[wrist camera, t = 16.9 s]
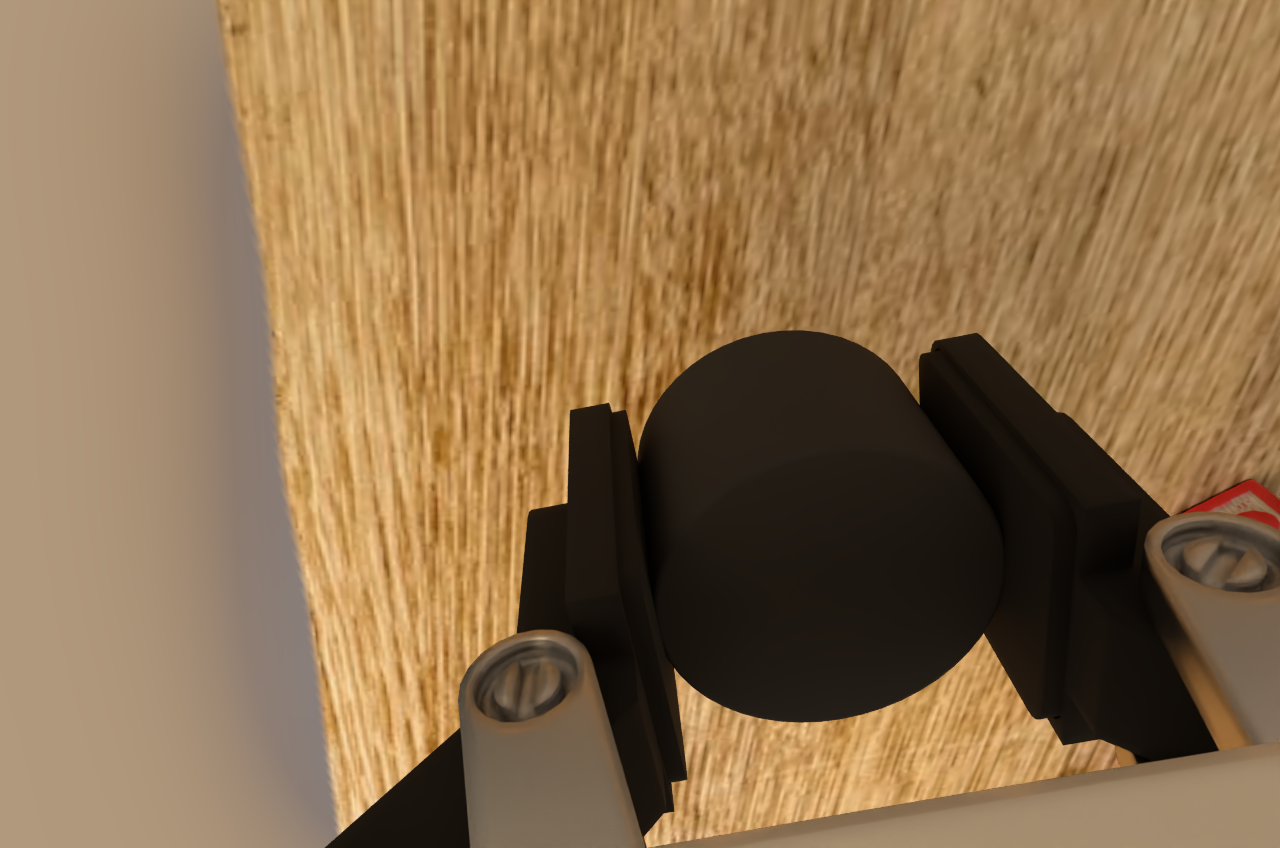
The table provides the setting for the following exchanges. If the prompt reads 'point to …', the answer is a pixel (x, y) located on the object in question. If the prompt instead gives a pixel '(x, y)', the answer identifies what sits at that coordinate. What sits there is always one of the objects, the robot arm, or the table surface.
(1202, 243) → the table surface
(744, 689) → the eye dot
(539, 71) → the table surface
